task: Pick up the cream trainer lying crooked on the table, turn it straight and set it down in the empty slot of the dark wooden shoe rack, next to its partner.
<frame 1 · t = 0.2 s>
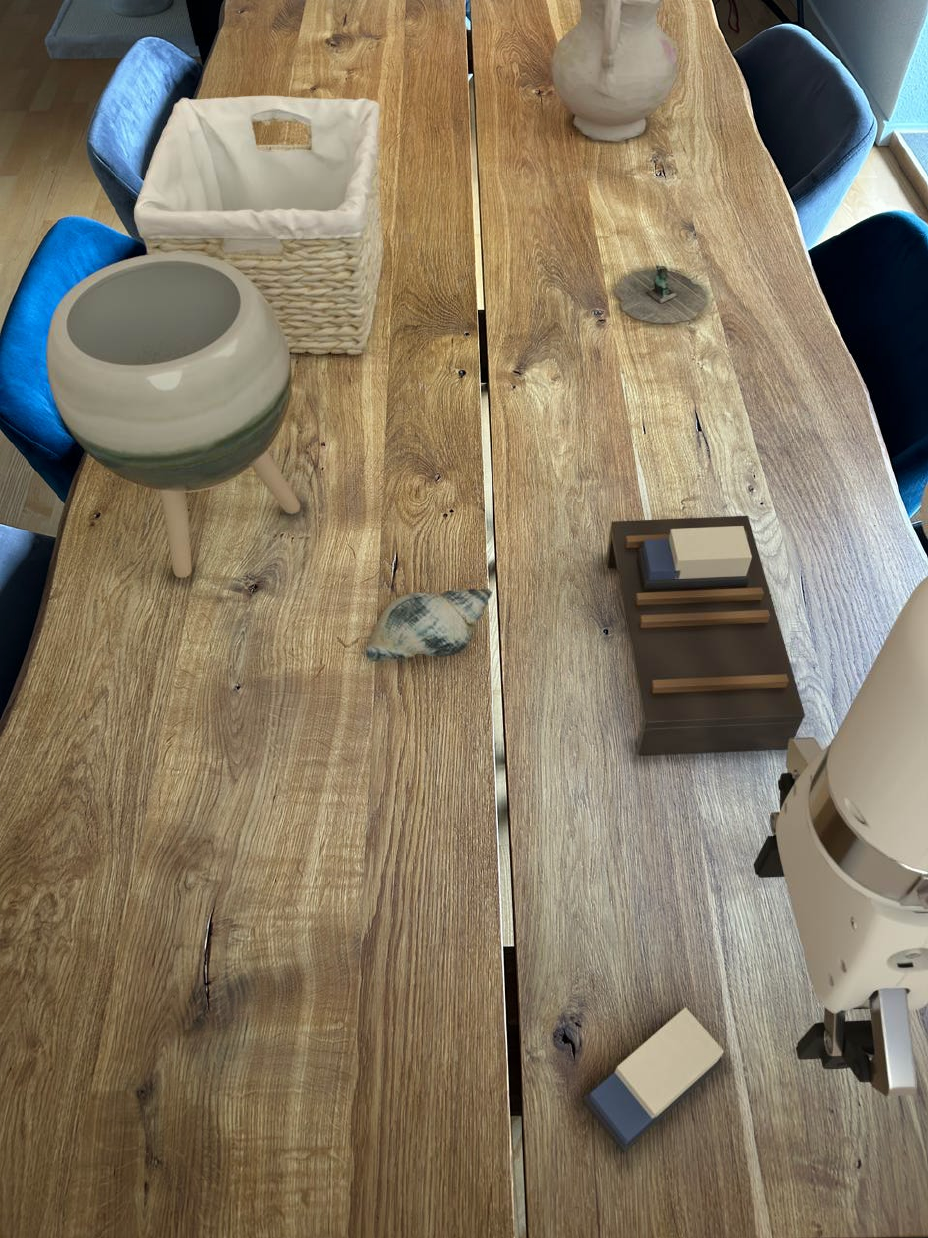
hand: (802, 956, 54), 28 cm above the table, tool pointing down, fingers open, 9 cm apart
basket: (289, 304, 137), on the table
seashell: (429, 644, 102), on the table
shoe rack: (691, 647, 101), on the table
planter: (220, 522, 113), on the table
ceramic pitcher: (609, 127, 164), on the table
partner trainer: (691, 570, 99), point 6 cm above the table, touching shoe rack
sculpture: (659, 297, 136), on the table
trainer: (651, 1083, 76), on the table
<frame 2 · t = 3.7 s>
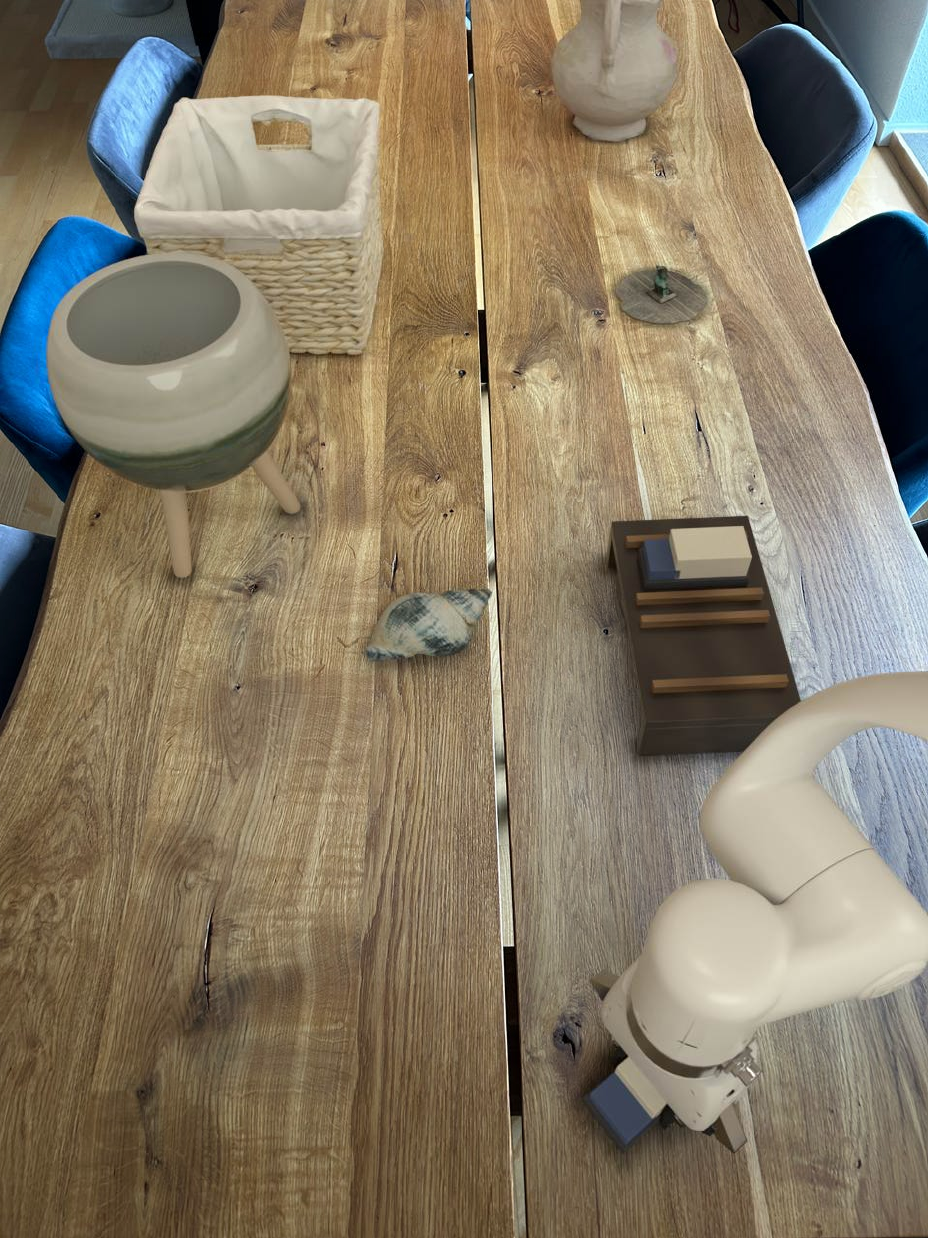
hand: (652, 1082, 76), 0 cm above the table, tool pointing down, fingers closed on trainer, 4 cm apart
trainer: (651, 1083, 76), on the table, touching gripper
everything else where it was.
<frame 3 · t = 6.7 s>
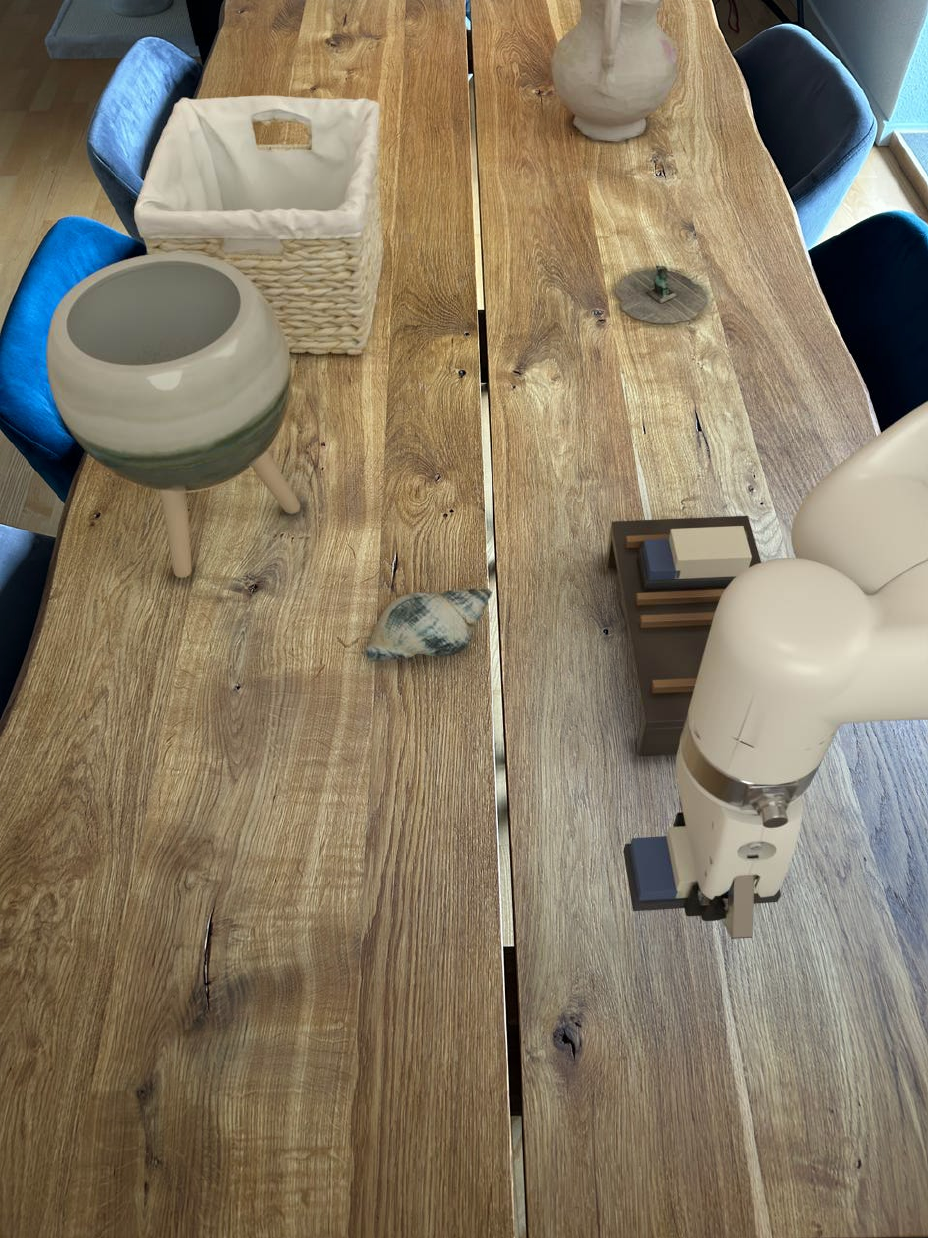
hand: (700, 873, 71), 15 cm above the table, tool pointing down, fingers closed on trainer, 4 cm apart
trainer: (698, 876, 71), point 15 cm above the table, touching gripper
everything else where it was.
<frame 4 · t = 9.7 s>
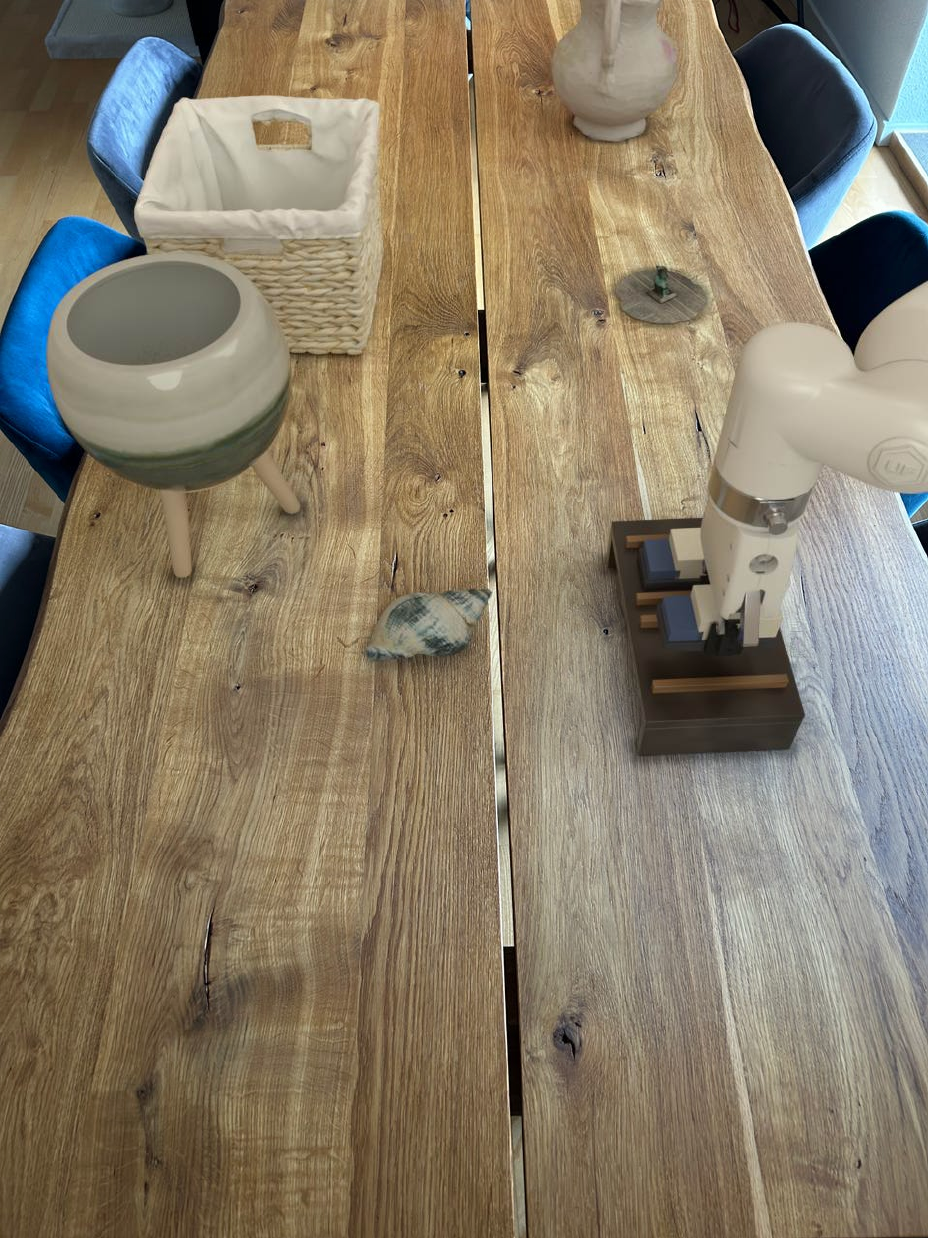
hand: (716, 627, 90), 10 cm above the table, tool pointing down, fingers closed on trainer, 4 cm apart
trainer: (715, 629, 90), point 10 cm above the table, touching gripper
everything else where it was.
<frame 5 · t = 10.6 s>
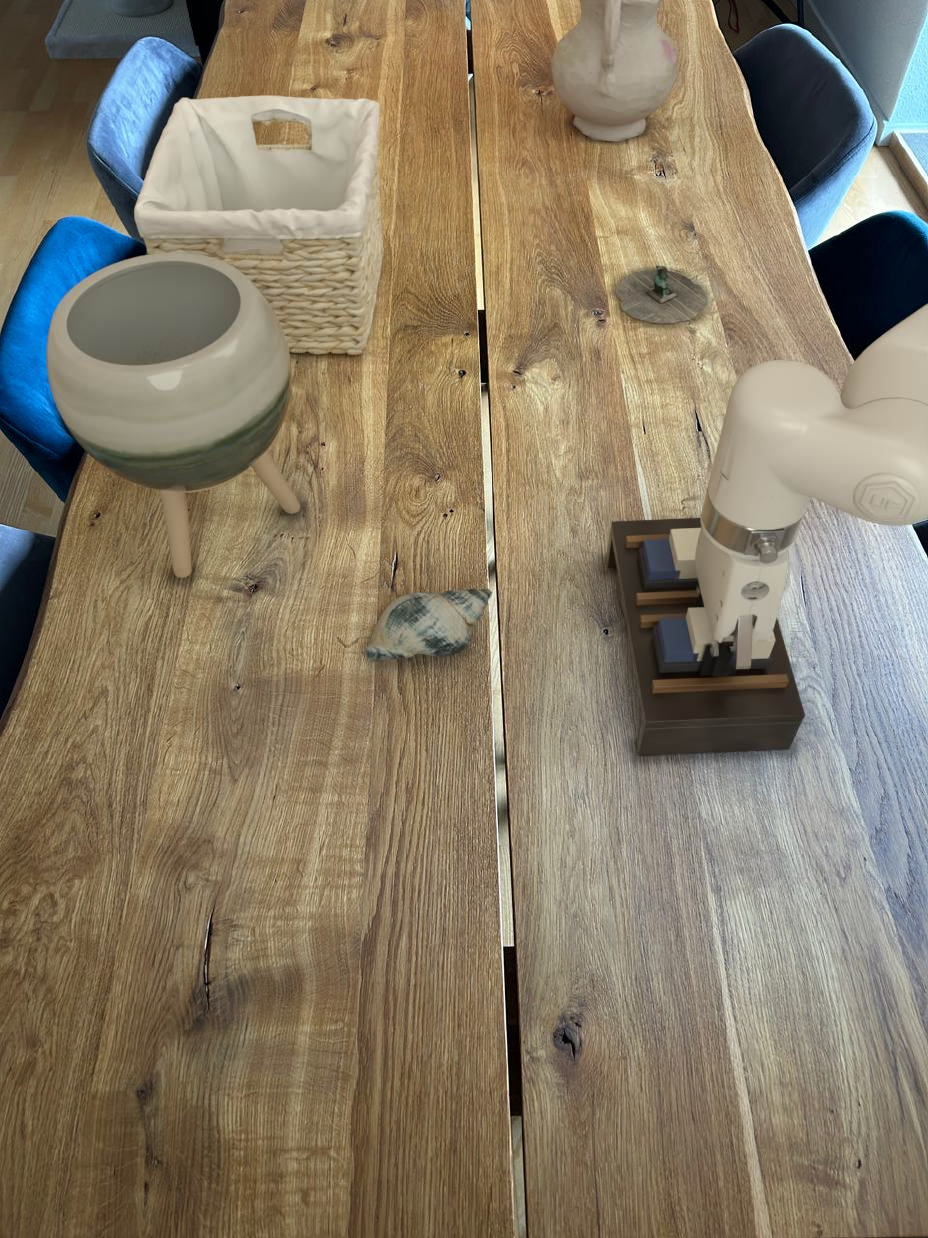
hand: (711, 648, 92), 7 cm above the table, tool pointing down, fingers closed on trainer, 4 cm apart
trainer: (709, 650, 93), point 6 cm above the table, touching gripper
everything else where it was.
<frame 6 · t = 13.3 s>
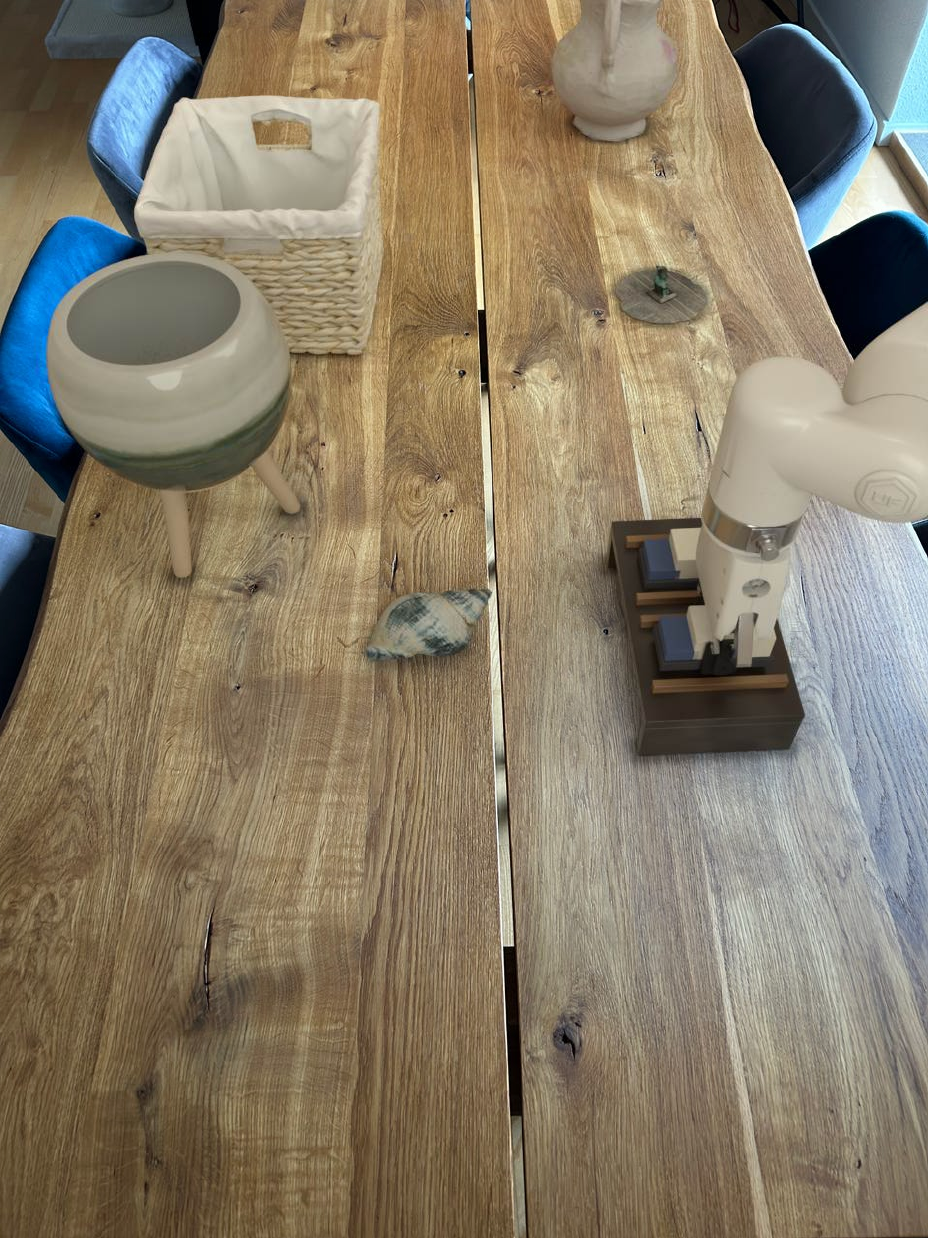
hand: (712, 646, 92), 7 cm above the table, tool pointing down, fingers closed on trainer, 4 cm apart
trainer: (710, 648, 92), point 7 cm above the table, touching gripper
everything else where it was.
when the fingers open (8 cm above the table, at t = 15.8 s): trainer drops 1 cm, resting on shoe rack.
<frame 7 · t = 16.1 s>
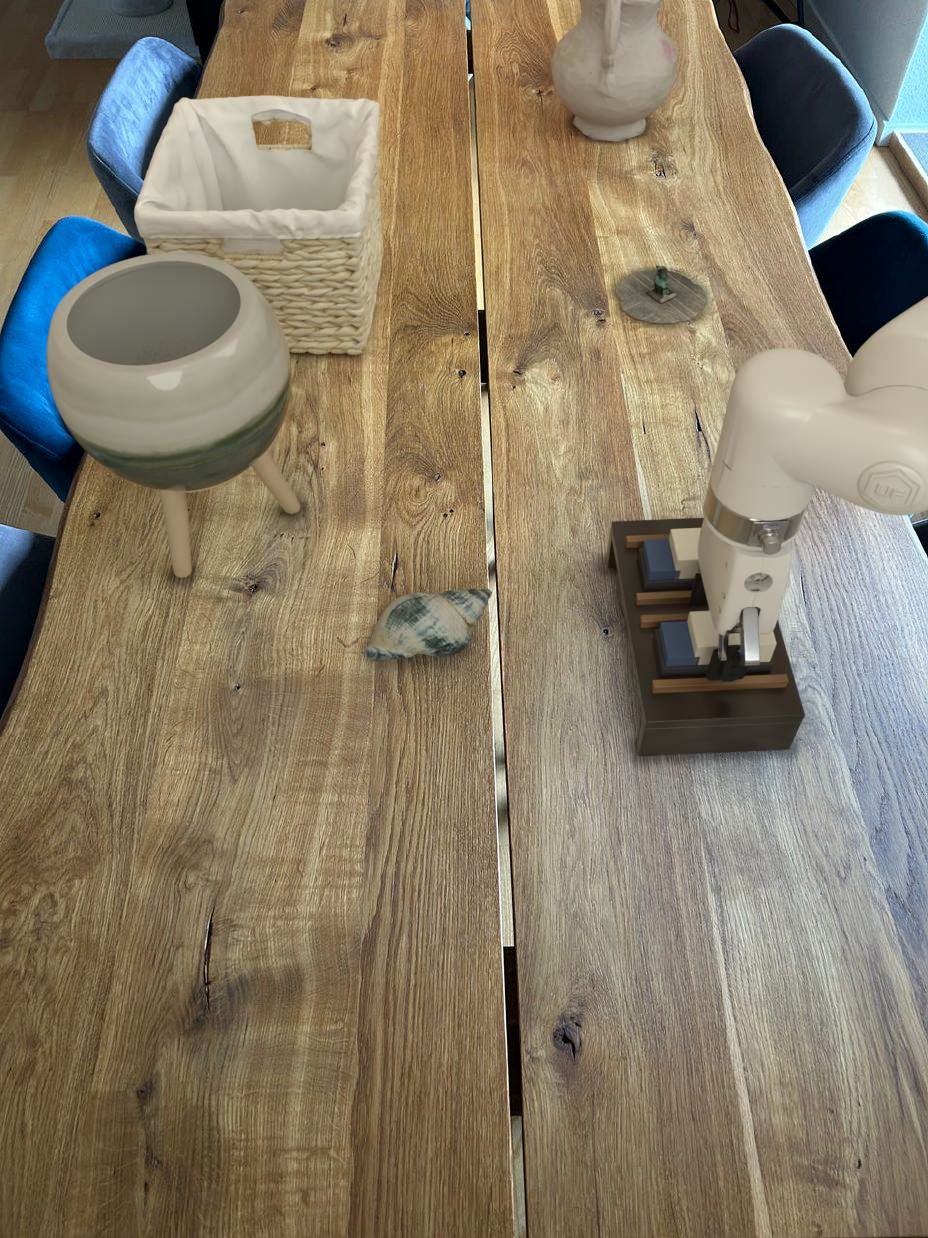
hand: (715, 638, 91), 8 cm above the table, tool pointing down, fingers open, 7 cm apart
trainer: (711, 654, 93), point 6 cm above the table, touching shoe rack
everything else where it was.
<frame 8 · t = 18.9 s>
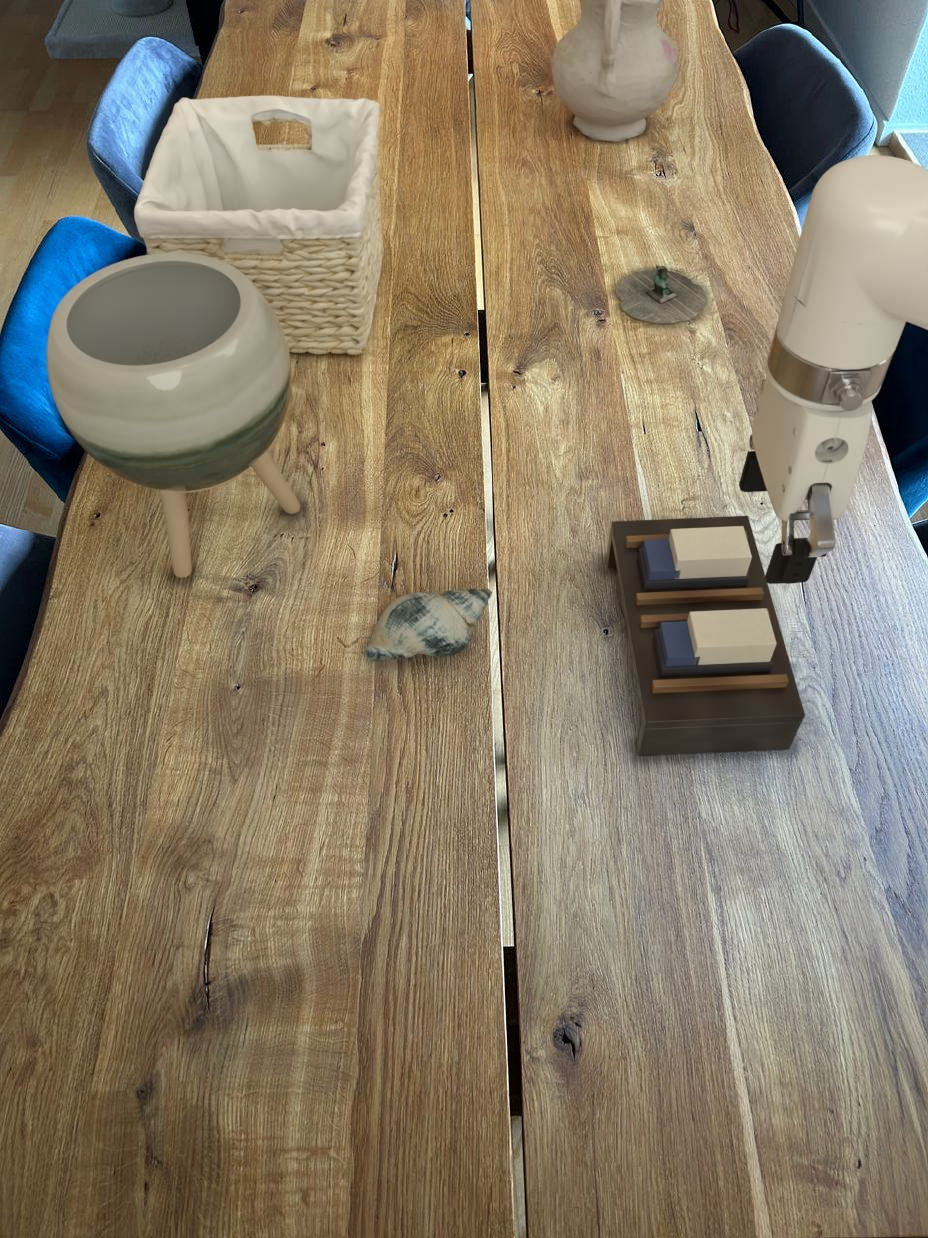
hand: (771, 532, 80), 22 cm above the table, tool pointing down, fingers open, 9 cm apart
nothing on the table moved.
at the end: trainer 0.0 cm from the target spot on the shoe rack, point 6.0 cm above the shoe rack's base; trainer tilted 0°; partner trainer moved 0.0 cm from its start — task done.
